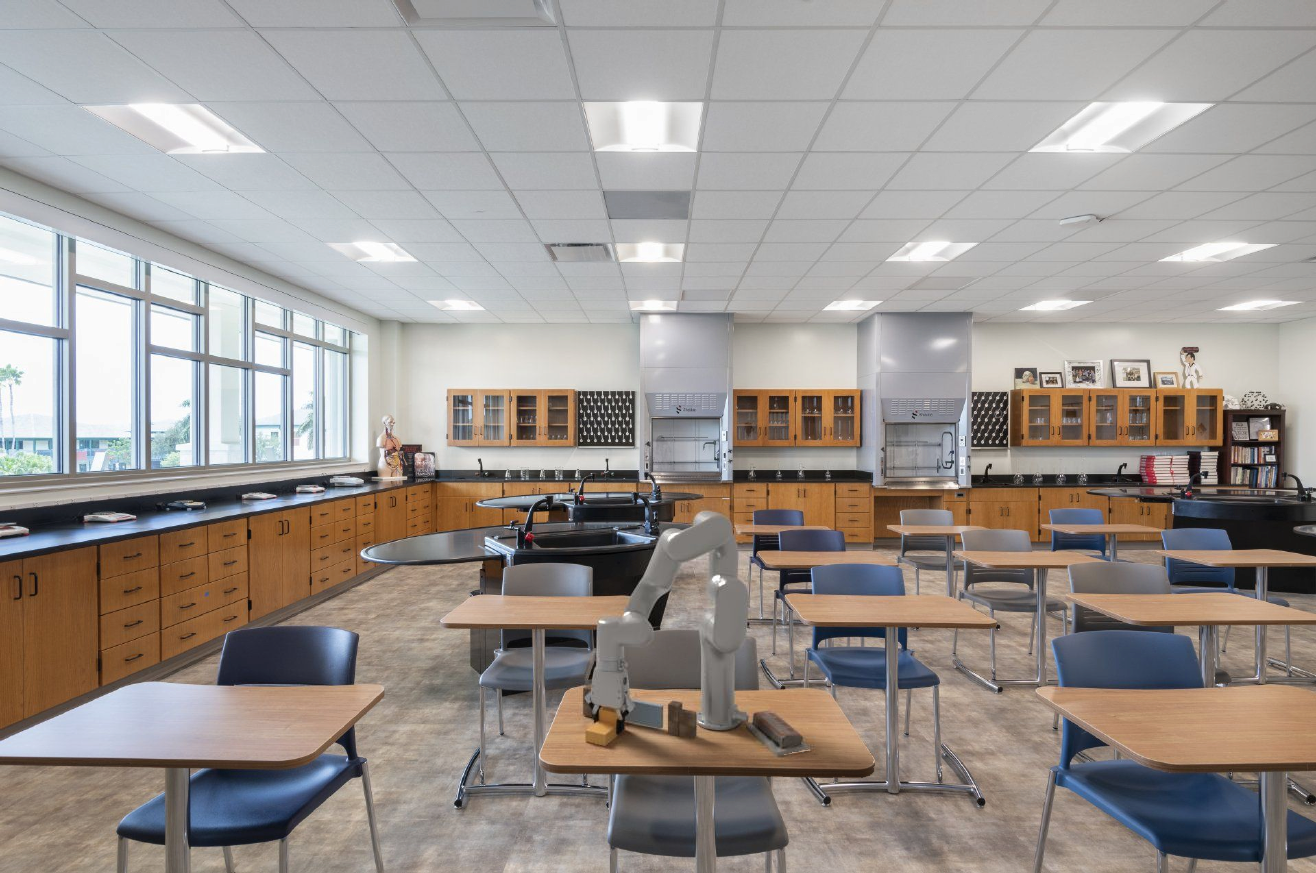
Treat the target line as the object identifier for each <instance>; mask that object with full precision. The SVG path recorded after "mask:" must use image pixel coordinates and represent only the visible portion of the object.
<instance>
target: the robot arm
mask: <svg viewBox="0 0 1316 873" xmlns="http://www.w3.org/2000/svg"><path fill="white" fill-rule="evenodd" d="M692 522H693V525H692V526H690V527H687V528H685V529H683V530H681V529H679V528H676V527H674V528H668V529H666V530H664V531H663V532H662V533H661V535H660V537H659V538H658V540H657V543H656V546H655V548H654V551H653V552H652V555H651V558H650V560H649V561H648V562H649V563H648V566H647V568H646V570H645V572H644V574H643V576H642V577H641V579H640V580H639V582H638V584H637V585H636V587H635V588H634V590H633V592H632V593H631V595H630V597H629V599H628V601H627V603H626V607H625V608H624V611H623V614H622V617H617V616H605V617H601V618H599V620H597V623H596V662H595V663H596V665H595V667H594V669H593V674H592V679H591V685H592V687H591V691H590V692H589V693H588V694H587V695H586V696H585V700H586V701H587V703H588V704H589V706H590V708H591V709H592V713H593V714H594V716H593V724H595V723H596V722H597V721H599V709H600V708H601V707H602V706H604V707H609V708H614V709H616V712H617V716H618V719H617V720H616V734H618V736H619V735H620V734H622V733H621V732H624V731H625V730H626V721H625V717H626V716H627V715H628V714H629V713H630V712H631V711H632V710H633V709H634V708H635V707H636V706H635V704H634V703H633V701H632V700H631V699H632V698H631V697H630V683H629V675H628V670H627V667H628V665H629V663H628V661H627V662H626V661H625V647H631V648H643V647H646V646H648V645H650V643H651V642H652V641H653V639H654V635H655V632H654V628H653V626H652V624H651V622H649V620H648V619H649V617H650V615H651V612H652V610H653V608H654V606H655V604H656V602H657V601H658V599H660V597H662V596H663V595H665V594H666V593H668V592H670V590H671V589H672V588H673V586H674V584H675V582H676V581H675V580H676V578H677V576H678V573H679V570H680V568H681V566H682V563H683V564H684V563H688V562H690V561H693V560H695V559H698V558H699V557H702V556H704V555H706V554H708V565H707V576H706V585H705V592H706V593H705V594H706V596H707V598H708V599H709V601H710V602H711V603H713V604H714V605H715V607H714V608H710V609H708V610H706V611H705V612H704V613H703V614H702V616H701V618H700V621H699V625H698V632H699V641H700V642H699V643H700V658H701V660H700V663H701V665H700V669H701V670H700V672H701V673H700V690H701V691H700V698H701V699H700V711H699V712H697V725H699V727H701V728H703V729H706V730H707V729H708V730H710V731H711V730H713V731H729V730H732V729H735V728H737V727H738V726H739V725H740V723H749V719H750V718H749V717H750V716H749V715H748V712H747V711H741V710H740V709H738V708H739V706H738V704H735V667H736V666H735V664H736V662H735V660H736V659H735V653H736V652H738V651H739V650H740V649H741V648H742V647H743V646H744V643H745V641H746V637H747V630H748V618H749V610H750V595H749V594H750V593H749V591H748V588H747V586H746V585H745V583H744V582H743V581H742V580H741V579H739V577H738V576H739V572H738V571H739V547H738V542H737V539H736V536H735V535H734V533H733V531H734V526H733V523H732V522H731V520H730V518H729V517H727V516H726V515H724V514H721V513H719V512H716V511H713V510H702V511H699V512H698V513H696V515H695V516H694V518H693V521H692ZM624 704H627V705H628V708H627V709H626V710H625V707H624ZM624 729H625V730H624Z"/></svg>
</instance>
